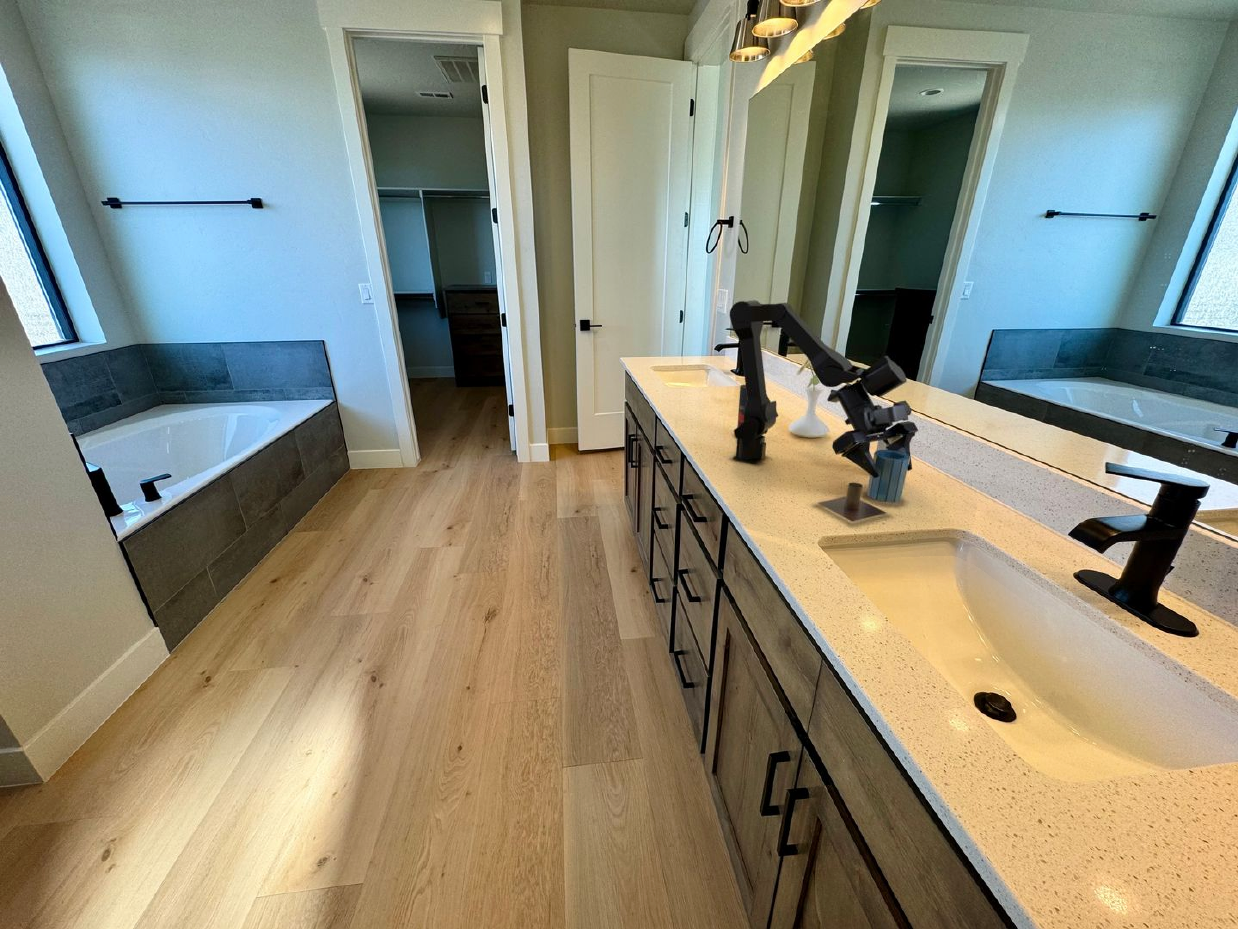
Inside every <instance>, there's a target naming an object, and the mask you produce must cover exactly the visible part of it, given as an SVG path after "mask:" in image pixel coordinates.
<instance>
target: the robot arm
mask: <svg viewBox="0 0 1238 929" xmlns="http://www.w3.org/2000/svg"><path fill="white" fill-rule="evenodd" d="M729 320H730V323H731V327H732V330H733V332H734V333H735V335H736V337H737V338H738V340H739V343H740V344H739V345H740V352H741V353H740V354H741V360H742V367H743V376H744V385H746V392H747V402H746V406H745V409H744V423H742V424H741V425H740V426H739V427H737V426H736V428H734V429H733V433H734V437H735V439H736V446H735V455H734V456H733V457H732V459H733V460H736V461H741V462H744V463H750V464H754V465H756V464H757V465H758V464H759V463H760V462H761V461H763V460H764V459H766V450H767V442H766V436H765V435H766V434H768V432H769V429H771V428H772V427H774V425H775V424H776V422H777V418H778V417H779V414H778V411H777V400H773V401H771V400H770V398H769V396H768V394H767V387H766V378H765V369H764V361H763V360H764V359H763V352H762V345H761V334H762V330H763V327H764V322H774V323H776V325H778V327H780V328H781V330H782V331H783V332H784V333H785V334H786V336H788V338H790V340H791V341H792V342H793V343H794V344H795V345H796V347H797V348H798V349H799V350H800V351H801V352H802V353H803V354H804V355H805V357H806V358H808V359H809V361H810V366H811V368H812V370H813V373H814V375H816V376H817V378H818V380H819V383H821V384H822V385H823V386H824V387H827V388H836V387H839V386H841V385H842V384H845V385H843V386H841V387H840V388H838V389H831V390H830V393H829V395H828V397H827V402H830V403H838V402H839V403H840V405H841V408H842V409H843V411H844V413H845V415H846V419H845V420H844V423H845V425H846V426H848V425H850V426H851V427H852V430H846V431H845V432H844V433H843V434H841V435H840V436H838V437H837V438H836V439H834V440H833V441H832V450H833V452H834V454H835V455H836V456H837V455H840V456H841V457H842V458H845V459H847V460H849V461H850V462H852V463H853V464H855V465H857V466H858V467H859V468H860V469H862V470H863V471H865V472H866V473H867V474H869V476H870V475H871V476H873V477H874V478H877V477H879V476H880V475H879V472H878V469H877V467H876V465H875V462H874V460H873V456H872V453H871V452H870V451H871V450H870V448H871V443H874V442H878V441H880V440H883V442H884V443H885V444H887V445H888V446H887V447H886V448H887V449H888V450H890V451H891V450H893V451H899V452H902V453H905V454H907V455H908V456H910V461H909V465H908V470H907V472H910V471H912V470H913V465H912V464H913V463H912V456H911V448H910V446H911V444H910V443H911V441H912V439H913V438H914V437H915V436H916V433H918V432H919V429H918V427H917V425H916V423H915V422H914V421H909V416H910V415H911V414H912V411H913V409H912V408H911V406H910V404H909V403H908V402H907V400H900V401H896V402H894V403H893V405H892V406H888V407H883V406H882V405H880V404H874V402H873V400H872V398H871V397H874V396H877V397H878V398H882V397H884V396H886V395H888V394H889V393H891V392H892V391H894V390H895V389H897V388H899V387H901V386H903V385H904V384H905V383H906V384H907V382H908V379H907V377H906V374H905V372H904V370H903V369H902V367H900V365H897V363H896V362H894V361H893V360H891V358H890V357H889V356H888V355H885V356H883V357H881V358H880V359H879V360H877V361H876V362H875V363H874V364H873V365H871V366H869V367H868V368H865V367H860V366H858V365H854V364H852V362H851V361H850V360H849V359H847V358H846V357H845V356H843V355H842V354H841V353H839V352H838V351H836V350H834V349H832V348H831V347H829V346H828V345H826V344H825V343H824V341H822V339H821V338H820V337H819V336H818V335H817V334H816V333H815V331H813V330H812V329H811V327H810V326H809V325H808V324H807V323H806V322H805V321H804V319H802V317H801V316H800V315H799V314H798V313H797V312H796V311H795V310H794V309H793V306H792V305H791V304H790V303H788V302H780V303H778V302H777V303H761V302H759V301H758V300H755V299H749V300H739V301H737V302H735V303H734V304H733V305H732V306H731V308H730V310H729ZM855 381H856V382H855ZM851 383H852V384H851ZM900 421H901V422H900ZM894 423H895V424H894ZM892 425H894V426H892ZM890 426H892V427H891V428H889V429H888V430H887V429H886V428H888V427H890Z"/></svg>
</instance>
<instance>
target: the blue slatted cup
mask: <svg viewBox="0 0 1238 929" xmlns="http://www.w3.org/2000/svg"><path fill="white" fill-rule="evenodd" d="M872 458H873V460H874V462H875V465H876V467H877V469H878V472H879V475H880V476H879V477H877V478H874V477H873V476H871V475H870V474H869V480H868V484H867V489H866V490H867V491H866V495H867V496H868V497H869V498H871V499H872V500H874V501H878V502H882V503H899V502H901V500H902V498H903V493H904V489H905V484H906V479H907V474H908V471H907V470H908V465H909V461H910V456H908V455H907V454H905V453H902V452H899V451H893V450H891V451H890V450H878V451H876V450H875V451H874V452H873V456H872Z"/></svg>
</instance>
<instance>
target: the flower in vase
mask: <svg viewBox="0 0 1238 929" xmlns="http://www.w3.org/2000/svg"><path fill="white" fill-rule="evenodd" d="M806 368H809V369H810V372H811V375H812V377H811V378H810V379H809V383H808V385H807V386H806V387H805V388H804V391H805V393H806V395H807V408H806V412H805V413H804V414H803V415H802V416H800V417H799V418H797V419H796V420H794V421H793V422H791V423H789V426H788V430H789V432H790V433H792V434H794V435H796V436H799V437H804V438H820V437H822V438H823V437H825V436H828V434H829V433H830V428H829V426H828V425H827V424H826V423H825V422H824V421H823V420H822V419H820V418H819V416H818V415H817V413H816V409H817V408H816V407H817V403H818V399H819V397H820V395H821V394H822V392H823V391H824V389H823V388H821V387H816V386H817V385H819V384H820V381H819V379H818V377H817V376H816V374H815V373H814V371H813V368H812V366H811V363H810V361H809V359H808V357H806V360H805V361H804V363H802V365H801V367H800V368H799V369H798V371H797V372H796V376H800V375H801V374H802V373H803V372H804V371H805V369H806ZM812 385H813V386H812Z"/></svg>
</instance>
